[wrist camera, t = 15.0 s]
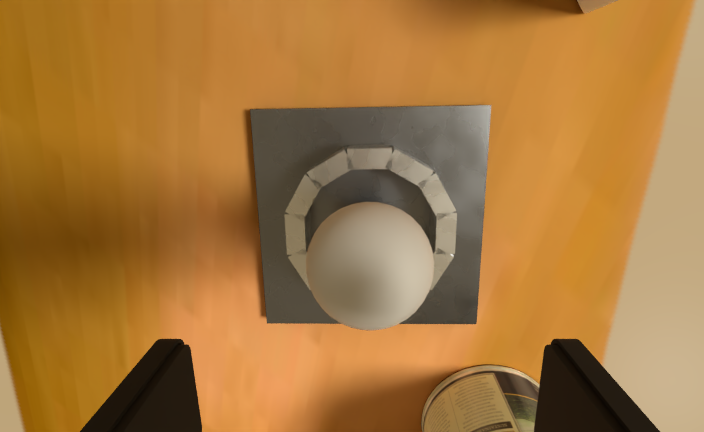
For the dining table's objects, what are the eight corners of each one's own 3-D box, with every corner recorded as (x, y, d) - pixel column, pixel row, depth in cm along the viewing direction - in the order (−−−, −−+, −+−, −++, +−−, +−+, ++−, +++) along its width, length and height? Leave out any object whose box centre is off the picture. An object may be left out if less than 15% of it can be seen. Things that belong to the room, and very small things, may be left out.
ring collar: (254, 109, 27) (238, 109, 24) (486, 105, 26) (504, 105, 23) (270, 316, 31) (258, 342, 27) (472, 317, 30) (486, 343, 27)
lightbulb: (312, 247, 28) (278, 333, 18) (339, 162, 27) (320, 200, 16) (397, 274, 28) (414, 374, 18) (428, 192, 27) (467, 248, 16)
